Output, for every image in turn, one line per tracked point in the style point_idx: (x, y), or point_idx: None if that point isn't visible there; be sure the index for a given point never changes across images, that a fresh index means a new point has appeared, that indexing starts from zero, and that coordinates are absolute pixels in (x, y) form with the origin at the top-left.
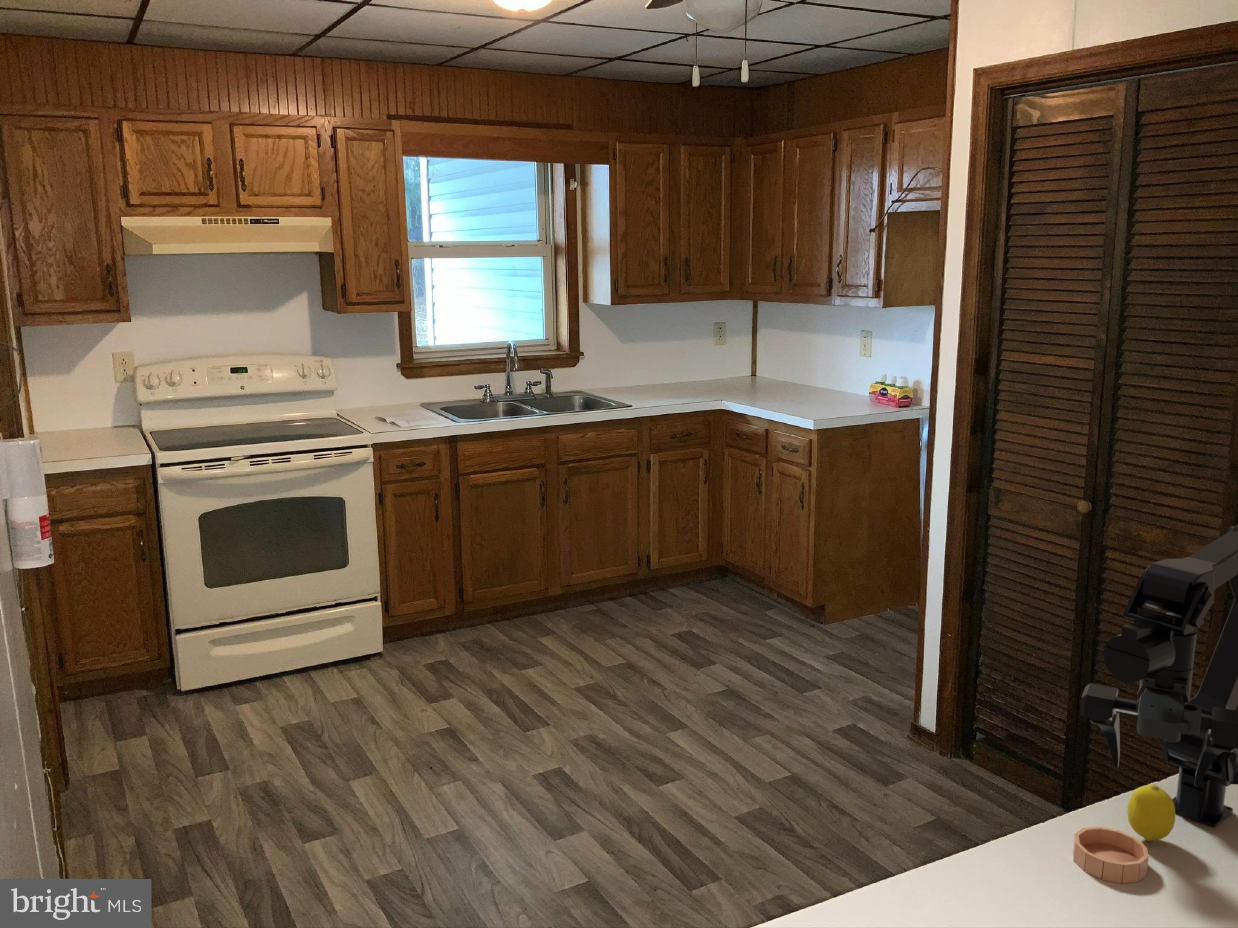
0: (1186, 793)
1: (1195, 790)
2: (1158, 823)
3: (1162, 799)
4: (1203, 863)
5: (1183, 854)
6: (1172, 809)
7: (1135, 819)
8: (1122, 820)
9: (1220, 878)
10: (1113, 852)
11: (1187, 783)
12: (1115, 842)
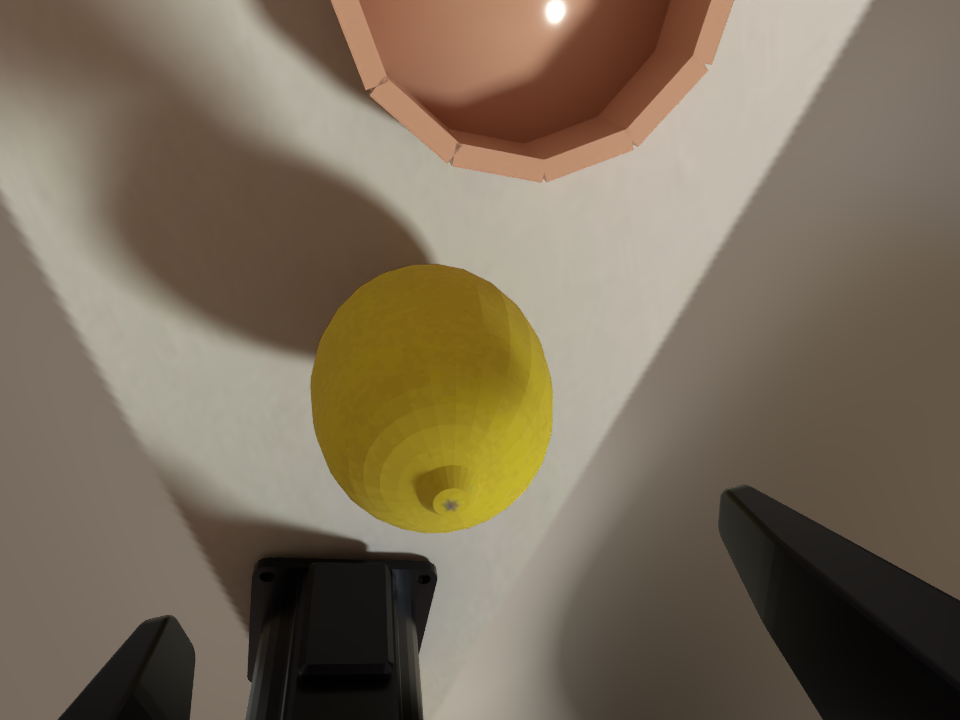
0: (362, 636)
1: (325, 665)
2: (364, 301)
3: (372, 424)
4: (171, 293)
5: (266, 308)
6: (317, 418)
7: (484, 284)
8: None
9: (51, 213)
10: (518, 66)
11: (368, 685)
12: (529, 147)
